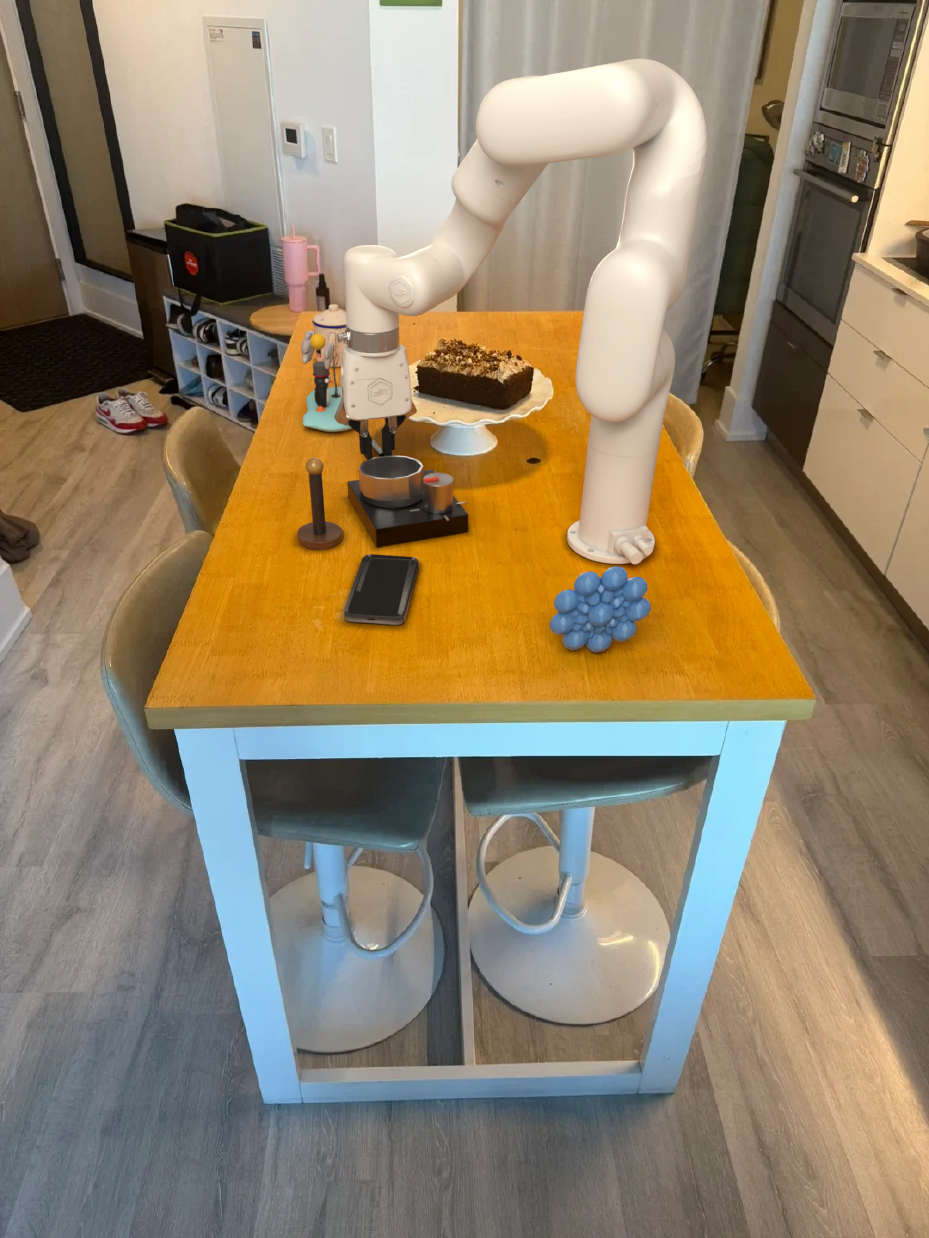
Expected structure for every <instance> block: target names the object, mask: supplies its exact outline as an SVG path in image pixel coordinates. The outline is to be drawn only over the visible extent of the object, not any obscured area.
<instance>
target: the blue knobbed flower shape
mask: <svg viewBox="0 0 929 1238" xmlns="http://www.w3.org/2000/svg"><path fill="white" fill-rule="evenodd" d="M628 576H629V575H628V572H627V571H626V570H625V568H624V567H622V566H619V565H617V566H611V567H609V568H607V569H606V570H605V571H604V572H603V574H602V575H601V576H599V574H598V573H597V572H595V571H592V570H590V571H584V572H582V573H580V574H579V575H577V577H576V579H575V581H574V583H573V589H572V588H570V589H564V590H562V591H560V592H559V593H558V594H557V595H556V596H555V598H554V600H553V607H554V609H555V610H556V611H557V613H555V614H554V615H553V616H552V618H551V619H550V620H549V629H550V630H551V632H552V633H553V634H555V635H557V636H562V635H563V636H562V645H563V646H564V647H565V648H566V649H568V650H569V651H576V650H577V651H578V650H580V649H581V648H583V647H584V646H585V645H586V647H587V649H588V650H589V651H590V652H592V653H594V654H598V653H604V652H605V651H606V650H607V649H609V648H610V646H611V645H612V643H613V640H614V641H616V642H619V643H621V642H627V641H630V639H632V638H633V637H634V636H635V634H636V632H637V631H638V630H637V627H638V626H637V623H636V622H640V621H643V620H644V619H645V618H647V617H648V616H649V614H650V612H651V610H652V606H651V605H652V604H651V602H650V601H649V600H648V599H647V598H645V597H644V596H645V595H646V594H647V592H648V582H646V580H645V579H644V578H643V577H641V576H633V577H628Z"/></svg>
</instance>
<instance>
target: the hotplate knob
mask: <svg viewBox="0 0 929 1238" xmlns="http://www.w3.org/2000/svg"><path fill="white" fill-rule="evenodd" d="M453 496H454V477H453V476H452V475H450V474H448V473H446V472H445V473H444V472H435V473H431V474H428V475H426V476H424V478H423V508H424V510H425V511H427V512H429V513H433V514H443V513H447V512H449V511H451V510H452V509H453Z"/></svg>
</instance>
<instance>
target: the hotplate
mask: <svg viewBox="0 0 929 1238" xmlns="http://www.w3.org/2000/svg"><path fill="white" fill-rule="evenodd" d="M431 473H436V471H435V470H434V469H431V468H430V469H424V476H426V475H428V474H431ZM346 485H347V499H348V501H349V503H350V505H352V507H353V510H354V511H355V513H356V514H357V516H358V518H359V520H360V521H361V523H362V525H363V527H364V529H365V530H366V531H367V533H368V535H369V537H370V538H371V540H372V542H373V544H374V546H375V547H376V548H382V547H388V546H393V545H400V544H407V543H412V542H419V541H424V540H431V539H437V538H442V537H448V536H454V535H460V534H466V533H467V534H468V533H469V513H468V512H467V511H466V509H465V508H464V507H463V505H466V503H467V502H466V501H458V499H457V498H456V497H455V496H454V495H453V509H452V510H451V511H449V512H447V513H443V514H433V513H429V512H427V511H425V510H424V508H423V500H421V501H420V502H418V503H417V504H414V505H412V506H408V507H404V508H380V507H376V506H372V505H370V504H367V503H366V502H364V501H363V500H362V499H361V498H360V495H359V491H360V487H359V479H355V480H348V481H347V482H346Z"/></svg>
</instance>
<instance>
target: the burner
mask: <svg viewBox="0 0 929 1238" xmlns="http://www.w3.org/2000/svg"><path fill="white" fill-rule="evenodd" d="M390 478H393V477H390ZM359 495H360V498H361V499H362V500H363V501H364V502H366V503H367V504H370V505H372V506H376V507H380V508H404V507H408V506H412V505H414V504H417V503H418V502H420V501H421V500H423V490H422V492H421V494H419V495H417V496H415V497H413V498H410V499H406V500H399V501H378V500H374V499H371V498H368V497H365V496H364V495H363V494H362V492H361V491H359Z"/></svg>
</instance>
